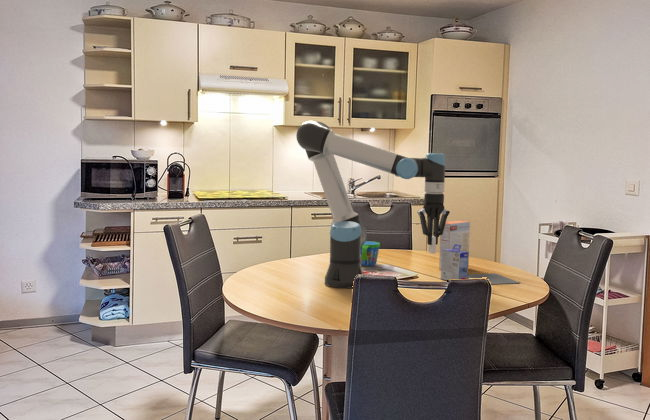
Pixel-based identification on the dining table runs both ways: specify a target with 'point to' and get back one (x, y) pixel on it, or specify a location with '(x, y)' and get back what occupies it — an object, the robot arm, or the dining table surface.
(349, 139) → the robot arm
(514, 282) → the mat
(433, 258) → the dining table surface
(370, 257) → the snack cup
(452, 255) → the ink cartridge box
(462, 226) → the cracker box
